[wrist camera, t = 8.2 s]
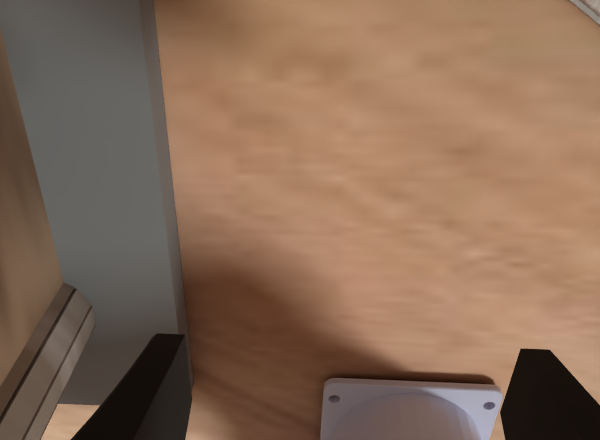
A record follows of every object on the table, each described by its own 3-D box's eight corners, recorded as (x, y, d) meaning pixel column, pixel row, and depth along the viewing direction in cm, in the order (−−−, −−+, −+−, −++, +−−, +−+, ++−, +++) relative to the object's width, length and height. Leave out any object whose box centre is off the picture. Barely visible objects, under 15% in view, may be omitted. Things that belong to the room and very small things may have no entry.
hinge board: (193, 382, 26) (172, 470, 23) (-21, 373, 27) (-78, 459, 23) (149, -40, 17) (98, -10, 13) (-187, -52, 17) (-334, -25, 13)
